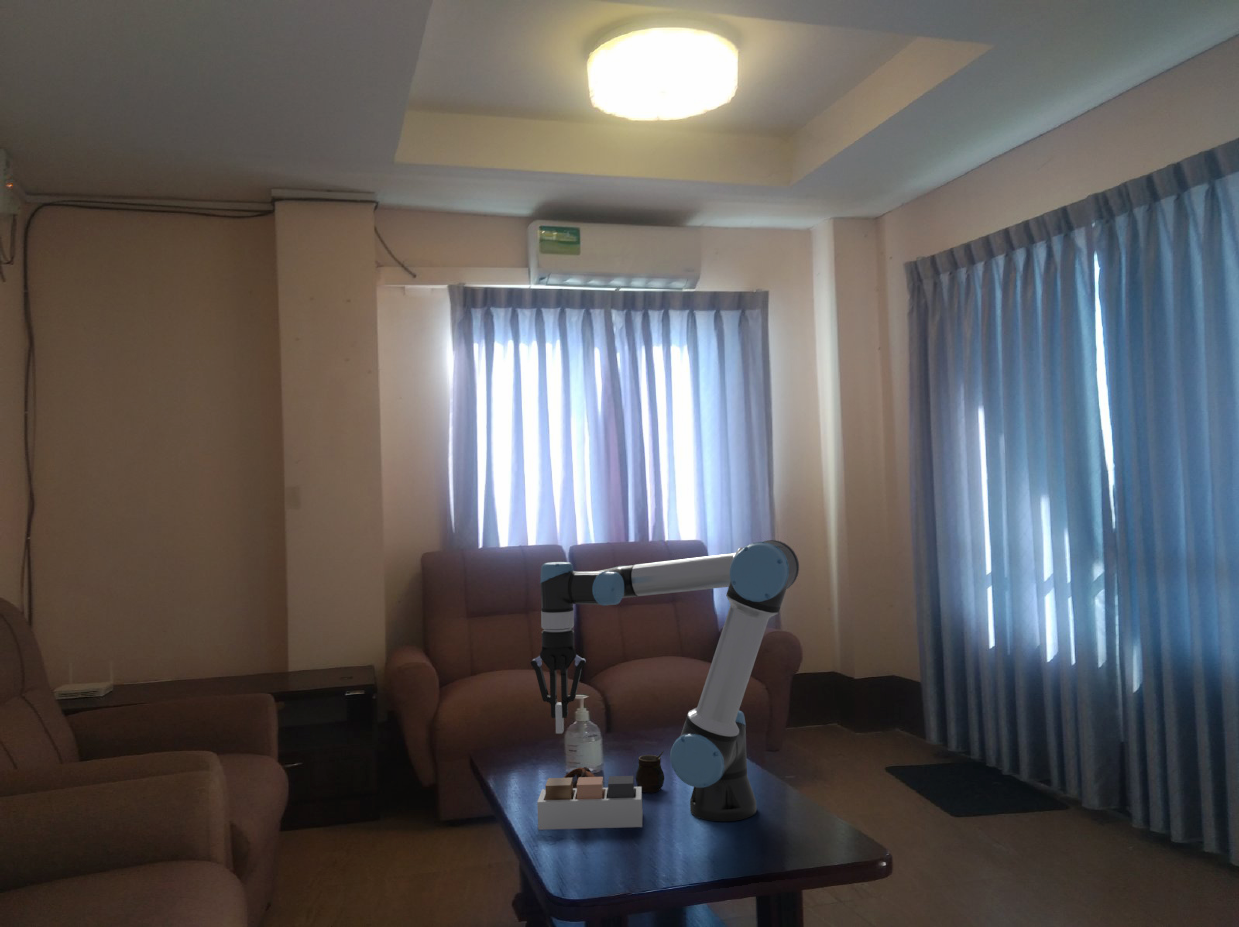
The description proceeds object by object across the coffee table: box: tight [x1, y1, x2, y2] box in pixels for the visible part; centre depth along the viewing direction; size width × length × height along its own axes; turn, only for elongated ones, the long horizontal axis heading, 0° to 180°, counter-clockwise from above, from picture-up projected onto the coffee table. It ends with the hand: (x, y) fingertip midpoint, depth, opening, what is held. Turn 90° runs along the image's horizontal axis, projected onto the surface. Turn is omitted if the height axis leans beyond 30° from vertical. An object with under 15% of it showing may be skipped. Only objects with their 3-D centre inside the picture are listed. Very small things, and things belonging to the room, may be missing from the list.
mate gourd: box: [635, 750, 665, 794], centre depth 226 cm, size 7×8×10 cm
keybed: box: [536, 786, 644, 831], centre depth 206 cm, size 23×9×6 cm, turn 88°
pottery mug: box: [563, 766, 596, 788], centre depth 223 cm, size 12×10×8 cm
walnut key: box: [544, 777, 574, 800], centre depth 206 cm, size 6×6×5 cm
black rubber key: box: [607, 775, 635, 798], centre depth 206 cm, size 6×6×5 cm
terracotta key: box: [577, 776, 604, 799], centre depth 206 cm, size 6×6×5 cm
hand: (559, 731), depth 211 cm, fingers closed
